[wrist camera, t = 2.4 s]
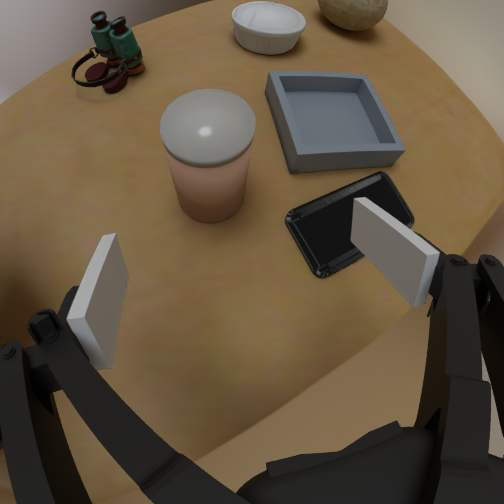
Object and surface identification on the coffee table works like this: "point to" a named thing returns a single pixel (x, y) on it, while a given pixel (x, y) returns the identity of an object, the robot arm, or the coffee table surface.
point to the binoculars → (111, 54)
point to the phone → (341, 222)
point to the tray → (330, 121)
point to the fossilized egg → (354, 12)
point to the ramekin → (267, 27)
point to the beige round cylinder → (208, 151)
